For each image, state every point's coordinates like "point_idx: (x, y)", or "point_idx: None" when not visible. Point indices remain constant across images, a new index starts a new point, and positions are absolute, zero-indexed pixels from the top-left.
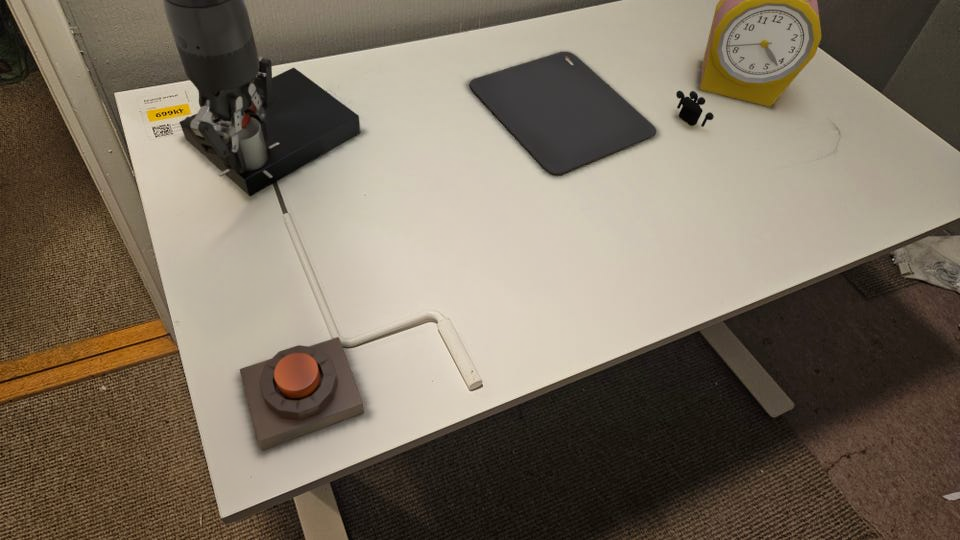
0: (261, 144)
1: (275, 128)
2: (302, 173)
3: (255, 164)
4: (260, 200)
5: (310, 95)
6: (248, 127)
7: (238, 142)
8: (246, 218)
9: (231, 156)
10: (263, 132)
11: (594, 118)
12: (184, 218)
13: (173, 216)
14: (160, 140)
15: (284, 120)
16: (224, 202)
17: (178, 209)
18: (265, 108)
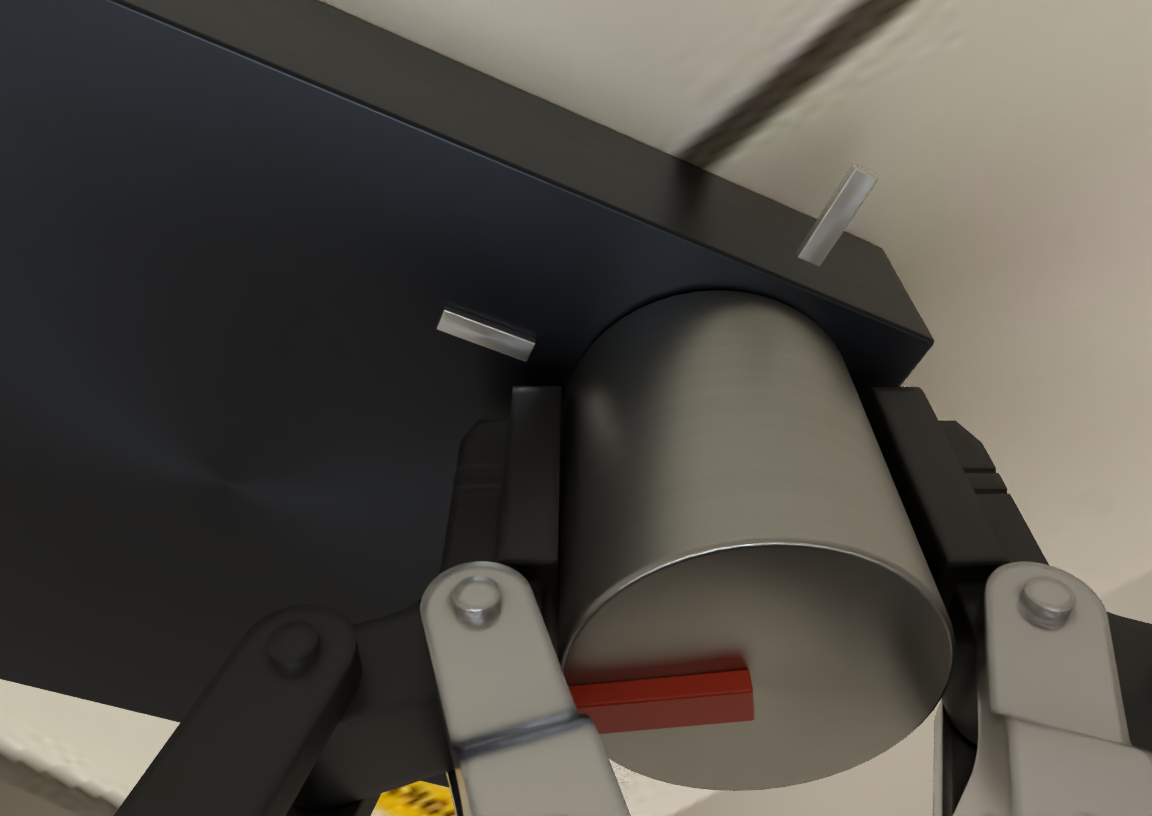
0: (743, 424)
1: (298, 413)
2: (510, 10)
3: (821, 350)
4: (899, 166)
5: None
6: (723, 638)
7: (991, 619)
8: (1096, 166)
9: (1043, 560)
10: (538, 478)
11: None
12: (1129, 472)
13: (1117, 519)
14: (615, 765)
15: (175, 399)
16: (965, 357)
17: (1061, 523)
18: (355, 633)
